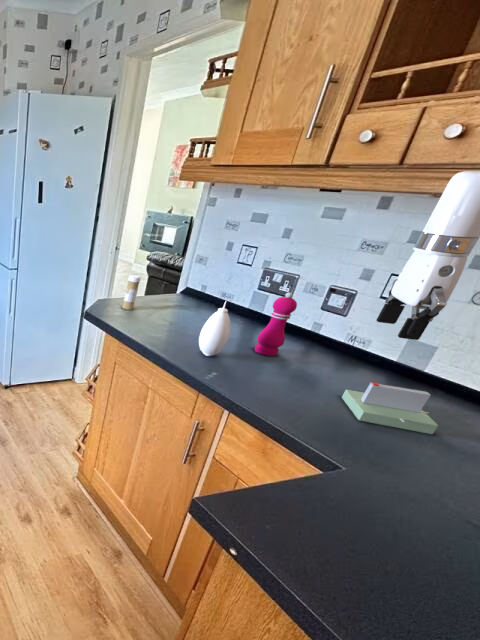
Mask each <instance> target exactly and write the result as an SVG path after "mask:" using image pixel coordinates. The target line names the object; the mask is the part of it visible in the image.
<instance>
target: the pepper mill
mask: <svg viewBox="0 0 480 640" xmlns="http://www.w3.org/2000/svg"><path fill="white" fill-rule="evenodd" d="M292 297H293V293H292V292H290V291H288V292H286V293H285V294H284V296H279V297H278V298H276V299H275V300H274V301H273V303H272V308H273V310H272V311H271V314H270V316H271V318H270V321H269V322H268V323H267V325H266V326H265V327H264V328H263V329H262V330H261V331H260V332H259V334H258V335H257V337H256V338H257V339H256V340H257V344H256V345H255V347H254V351H255V352H256V353H258V354H260V355H262V356H266V357H267V356H268V357H274V356H277V355H278V353H279V350H280V349H279V348H280V347H282V346H284V344H285V341H286V334H285V326H286V324H287V322H288V320H290V319H291V316H292V313H294V312H295V311H296V309H297V306H298V302H297V301H296V300H295V298H292Z"/></svg>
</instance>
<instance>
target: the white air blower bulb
mask: <svg viewBox="0 0 480 640" xmlns="http://www.w3.org/2000/svg"><path fill="white" fill-rule="evenodd" d="M226 305H227V300H225V302H224V304H223V306H222V307H219V308H218V309H217V311H215V312H213V313H212V315H210V316H209V318H208V319H207V320H206V321H205V323H204V325H203V326H202V328H201V330H200V333H199V336H198V347H199V350H200V351H201V352H202V354H203V355H205V356H207V357H213V356H215V355H218V354H220V352H221V351H223V350H224V349H225V347H226V345H227V344H228V342H229V339H230V334H231V319H230V315H229V313H228V312H229V310H228V309H227V308H226Z"/></svg>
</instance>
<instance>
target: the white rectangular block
mask: <svg viewBox="0 0 480 640" xmlns="http://www.w3.org/2000/svg"><path fill="white" fill-rule="evenodd" d="M363 393H364V395H363V397H362V398H361V401H362V402H363V403H368V404H373V405H379V406H384V407H390V408H396V409H401V410H407V411H412V412H418V413H419V412H420V411H421V409H422V410H423V408H424V406H425V405H426V403H427V401H428V400H429V399H430V398H431V396H432V394H430V393H429V392H427V391H425V390H418V389H413V388H412V389H411V388H406V387H401V386H394V385H388V384H381V383H378V382H375V381H372V382H369V384H368V385H367V388H366V390H365V391H364V392H363Z"/></svg>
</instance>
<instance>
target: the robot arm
mask: <svg viewBox="0 0 480 640" xmlns="http://www.w3.org/2000/svg"><path fill="white" fill-rule="evenodd" d="M479 239H480V170H463V171H459V172H457V173H455V174H454V175H453V176H452V177H451V178H450V180H449V181H448V182H447V184H446V187H445V188H444V190H443V191H442V194H441V196H440V197H439V199H438V202H437V203H436V205H435V207H434V209H433V210H432V213H431V215H430V216H429V218H428V221H427V222H426V224H425V225H424V227H423V230H422V232H421V233H420V235H419V237H418V238H417V241H416V243H415V245H414V246H413V248H412V250H413V252H412V254H411V255H410V257H409V258H408V260H407V261H406V263H405V265H403V268H402V269H401V271H400V273H399V274H398V277H397V278H396V279H394V280H393V281H392V283H391V287H390V290H389V291H388V297H386V299H385V302H384V305H383V307H382V309H381V310H380V312H379V314H378V316H377V318H376V322H377V323H381V324H390V325H394V324H396V323H397V321H398V320H399V318H400V316H401V314H402V313H403V311H404V309H405V307H406V306H405V305H407V306H408V307H411V314H410V317H407V318H406V319H405V322H404V323H403V325H402V327H401V329H400V331H399V332H398V334H397V337H398V338H399V339H405V340H411V341H418V340H420V339H421V337H422V336H423V334H424V332H425V330H426V329H427V327H428V325H429V324H430V323H431V322H432V321H434V318H436V317H437V316H438V315H439V314H440V312H441V311H443V309H444V308H445V307H446V306H447V304H448V301H449V300H450V298H451V296H452V295H453V292H454V290H455V289H456V287H457V284H458V282H459V280H460V278H461V276H462V274H463V272H464V270H465V266H466V264H467V261H468V257H469V256H470V255H471V253H472V251H473V249H474V248H475V246H476V245H477V243H478V241H479ZM404 304H405V305H404ZM421 310H422V311H421Z"/></svg>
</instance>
